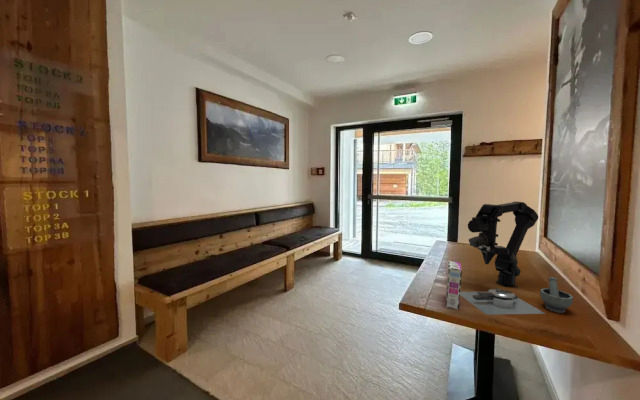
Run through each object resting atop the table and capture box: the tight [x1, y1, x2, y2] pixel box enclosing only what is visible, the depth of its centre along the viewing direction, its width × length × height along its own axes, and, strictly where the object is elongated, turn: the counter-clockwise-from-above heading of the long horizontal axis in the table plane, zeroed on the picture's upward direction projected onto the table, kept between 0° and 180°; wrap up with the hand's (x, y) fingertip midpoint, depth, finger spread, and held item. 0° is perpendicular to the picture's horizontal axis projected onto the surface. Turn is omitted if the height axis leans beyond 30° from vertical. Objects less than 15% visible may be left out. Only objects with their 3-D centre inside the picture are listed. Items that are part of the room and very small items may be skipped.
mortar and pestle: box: [539, 276, 574, 314], centre depth 107 cm, size 11×9×12 cm
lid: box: [477, 288, 516, 298], centre depth 110 cm, size 14×9×2 cm, turn 94°
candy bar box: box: [445, 260, 463, 310], centre depth 110 cm, size 11×5×16 cm, turn 155°
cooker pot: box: [473, 294, 519, 308], centre depth 111 cm, size 18×9×3 cm, turn 94°
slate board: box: [460, 291, 546, 316], centre depth 112 cm, size 24×20×1 cm
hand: (486, 264), depth 125 cm, fingers closed
